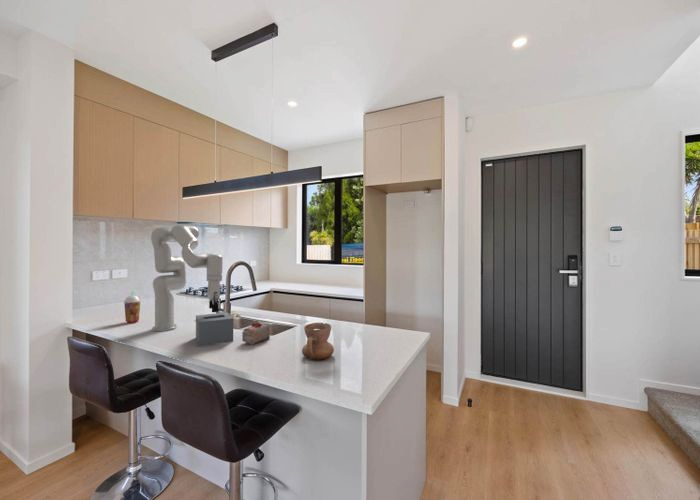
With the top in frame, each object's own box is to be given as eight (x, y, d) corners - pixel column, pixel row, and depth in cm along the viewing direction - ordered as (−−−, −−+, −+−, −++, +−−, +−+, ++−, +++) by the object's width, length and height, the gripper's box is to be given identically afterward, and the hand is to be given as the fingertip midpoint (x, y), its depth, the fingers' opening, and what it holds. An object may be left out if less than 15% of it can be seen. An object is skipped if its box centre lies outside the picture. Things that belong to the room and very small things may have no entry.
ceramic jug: (313, 348, 147) (312, 319, 147) (340, 352, 142) (339, 322, 141) (293, 362, 131) (292, 330, 130) (322, 367, 125) (322, 333, 125)
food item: (252, 346, 149) (252, 326, 149) (240, 343, 153) (240, 324, 152) (271, 338, 161) (271, 320, 161) (260, 336, 165) (260, 318, 165)
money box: (195, 337, 161) (195, 315, 161) (227, 333, 170) (227, 312, 170) (199, 346, 148) (199, 322, 148) (233, 341, 156) (233, 318, 156)
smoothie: (120, 323, 187) (120, 291, 186) (132, 320, 195) (132, 289, 194) (132, 324, 185) (132, 292, 185) (143, 321, 193) (143, 290, 193)
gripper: (204, 276, 163) (203, 307, 164) (208, 280, 149) (208, 314, 149) (219, 275, 168) (218, 306, 168) (225, 279, 153) (224, 312, 153)
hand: (213, 310), depth 159 cm, fingers open, 9 cm apart
